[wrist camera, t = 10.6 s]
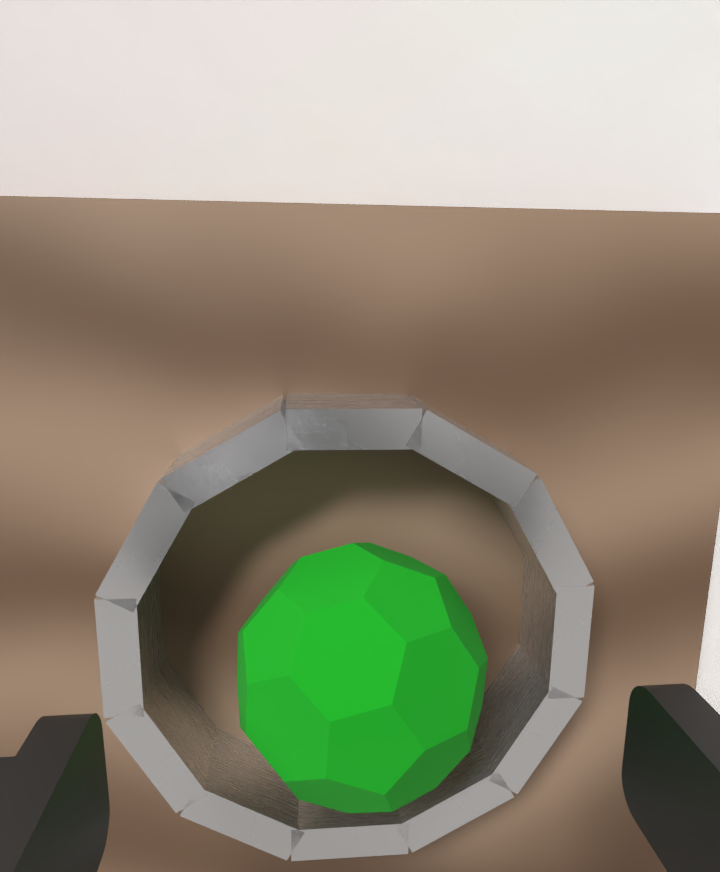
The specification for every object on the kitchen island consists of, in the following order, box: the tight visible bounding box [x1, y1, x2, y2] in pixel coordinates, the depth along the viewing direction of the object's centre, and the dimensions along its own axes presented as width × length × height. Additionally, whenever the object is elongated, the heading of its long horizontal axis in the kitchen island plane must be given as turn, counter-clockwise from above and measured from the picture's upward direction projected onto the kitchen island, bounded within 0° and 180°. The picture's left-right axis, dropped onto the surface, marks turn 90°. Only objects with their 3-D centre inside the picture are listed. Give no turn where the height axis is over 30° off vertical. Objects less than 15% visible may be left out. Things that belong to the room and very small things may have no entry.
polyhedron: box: [237, 542, 488, 813], centre depth 13 cm, size 5×5×5 cm
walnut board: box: [0, 196, 720, 872], centre depth 16 cm, size 18×18×2 cm
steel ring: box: [94, 394, 594, 861], centre depth 14 cm, size 10×10×2 cm
